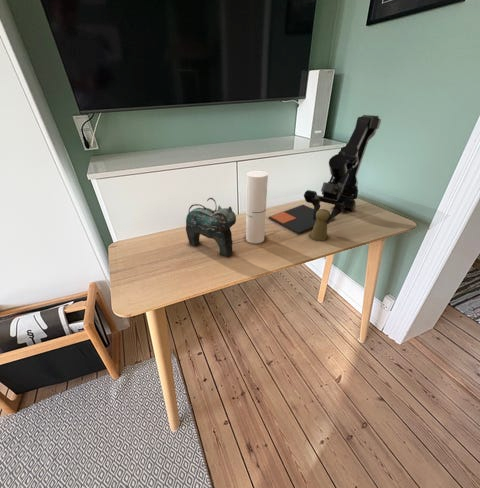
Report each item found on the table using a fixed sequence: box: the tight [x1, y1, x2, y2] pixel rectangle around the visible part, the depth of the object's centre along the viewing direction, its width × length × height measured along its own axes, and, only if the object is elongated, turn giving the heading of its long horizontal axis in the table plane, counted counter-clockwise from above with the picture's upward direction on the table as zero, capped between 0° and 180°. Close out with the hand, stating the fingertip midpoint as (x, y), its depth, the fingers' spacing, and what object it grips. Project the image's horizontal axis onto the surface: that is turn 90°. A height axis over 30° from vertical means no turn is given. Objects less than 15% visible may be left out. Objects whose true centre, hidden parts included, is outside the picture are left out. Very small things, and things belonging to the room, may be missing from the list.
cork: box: [310, 208, 331, 241], centre depth 98 cm, size 6×6×11 cm
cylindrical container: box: [245, 170, 269, 244], centre depth 93 cm, size 7×7×25 cm
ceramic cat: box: [185, 197, 237, 258], centre depth 89 cm, size 20×6×20 cm, turn 59°
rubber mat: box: [268, 204, 317, 235], centre depth 114 cm, size 22×18×1 cm
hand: (320, 221), depth 97 cm, fingers closed on cork, 5 cm apart
